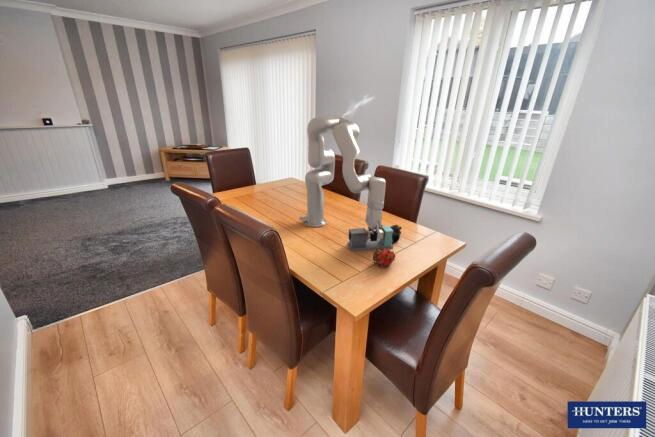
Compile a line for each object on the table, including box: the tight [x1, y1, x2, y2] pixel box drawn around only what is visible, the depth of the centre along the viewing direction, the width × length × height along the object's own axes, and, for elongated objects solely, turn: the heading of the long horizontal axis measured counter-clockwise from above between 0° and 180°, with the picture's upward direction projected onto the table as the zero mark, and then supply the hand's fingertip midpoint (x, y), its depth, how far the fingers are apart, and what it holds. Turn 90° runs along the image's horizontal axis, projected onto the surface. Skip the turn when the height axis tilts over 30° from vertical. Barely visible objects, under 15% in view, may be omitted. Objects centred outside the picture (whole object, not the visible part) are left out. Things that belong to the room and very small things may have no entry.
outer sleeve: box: [348, 227, 368, 248], centre depth 134 cm, size 8×5×8 cm, turn 101°
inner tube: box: [366, 229, 385, 240], centre depth 134 cm, size 15×4×4 cm, turn 101°
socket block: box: [380, 225, 394, 246], centre depth 136 cm, size 4×6×8 cm, turn 11°
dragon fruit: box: [372, 248, 396, 268], centre depth 121 cm, size 8×8×12 cm
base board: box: [346, 239, 394, 253], centre depth 137 cm, size 21×8×1 cm, turn 101°
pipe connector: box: [375, 224, 402, 244], centre depth 148 cm, size 12×5×15 cm
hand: (372, 238), depth 135 cm, fingers closed on inner tube, 3 cm apart
